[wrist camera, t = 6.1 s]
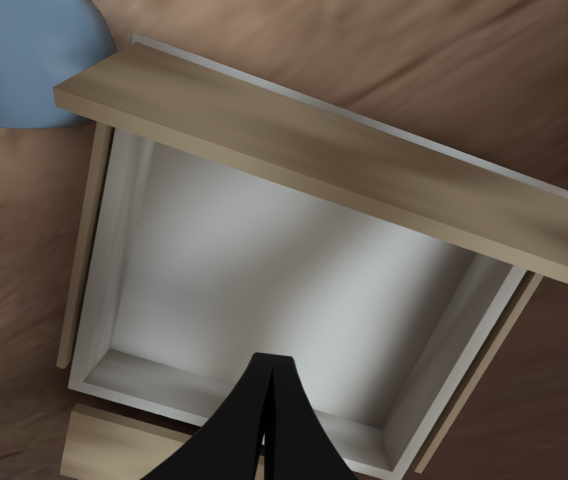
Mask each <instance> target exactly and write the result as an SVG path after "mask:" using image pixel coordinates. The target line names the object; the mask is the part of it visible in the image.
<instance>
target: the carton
mask: <svg viewBox="0 0 568 480" xmlns="http://www.w3.org/2000/svg"><path fill="white" fill-rule="evenodd" d="M135 42H138V43H141V44H144V45H146V46H149V47H152V48H155V49H157V50H160V51H163V52H166V53H168V54H171V55H174V56H177V57H179V58H182V59H185V60H188V61H190V62H193V63H196V64H199V65H201V66H204V67H207V68H210V69H212V70H215V71H218V72H221V73H223V74H226V75H229V76H232V77H234V78H237V79H240V80H243V81H245V82H248V83H251V84H254V85H256V86H259V87H262V88H265V89H267V90H270V91H273V92H276V93H278V94H281V95H284V96H287V97H289V98H292V99H295V100H298V101H300V102H303V103H306V104H309V105H311V106H314V107H317V108H320V109H322V110H325V111H328V112H331V113H333V114H336V115H339V116H342V117H344V118H347V119H350V120H352V121H355V122H358V123H361V124H363V125H366V126H369V127H372V128H374V129H377V130H380V131H383V132H385V133H388V134H391V135H394V136H396V137H399V138H402V139H405V140H407V141H410V142H413V143H416V144H418V145H421V146H424V147H427V148H429V149H432V150H435V151H438V152H440V153H443V154H446V155H449V156H451V157H454V158H457V159H460V160H462V161H465V162H468V163H471V164H473V165H476V166H479V167H482V168H484V169H487V170H490V171H493V172H495V173H498V174H501V175H504V176H506V177H509V178H512V179H515V180H517V181H520V182H523V183H526V184H528V185H531V186H534V187H537V188H539V189H542V190H545V191H548V192H550V193H553V194H556V195H559V196H561V197H564V198H567V199H568V191H567V190H564V189H562V188H559V187H556V186H553V185H551V184H548V183H545V182H542V181H540V180H537V179H534V178H532V177H529V176H526V175H523V174H521V173H518V172H515V171H512V170H510V169H507V168H504V167H501V166H499V165H496V164H493V163H491V162H488V161H485V160H482V159H480V158H477V157H474V156H471V155H469V154H466V153H463V152H460V151H458V150H455V149H452V148H450V147H447V146H444V145H441V144H439V143H436V142H433V141H430V140H428V139H425V138H422V137H419V136H417V135H414V134H411V133H409V132H406V131H403V130H400V129H398V128H395V127H392V126H389V125H387V124H384V123H381V122H378V121H376V120H373V119H370V118H368V117H365V116H362V115H359V114H357V113H354V112H351V111H348V110H346V109H343V108H340V107H337V106H335V105H332V104H329V103H327V102H324V101H321V100H318V99H316V98H313V97H310V96H307V95H305V94H302V93H299V92H296V91H294V90H291V89H288V88H286V87H283V86H280V85H277V84H275V83H272V82H269V81H266V80H264V79H261V78H258V77H255V76H253V75H250V74H247V73H245V72H242V71H239V70H236V69H234V68H231V67H228V66H225V65H223V64H220V63H217V62H214V61H212V60H209V59H206V58H204V57H201V56H198V55H195V54H193V53H190V52H187V51H184V50H182V49H179V48H176V47H173V46H171V45H168V44H165V43H163V42H160V41H157V40H154V39H152V38H149V37H146V36H143V35H141V34H138V33H135V32H133V35H132V40H131V44H133V43H135ZM543 276H544V275H541V274H538V273H535V272H533V271H530V270H527V269H524V268H521V267H518V266H515V265H512V264H509V263H506V262H504V261H501V260H498V259H495V258H492V257H489V256H486V255H483V254H480V253H477V252H475V251H472V250H469V249H466V248H463V247H460V246H457V245H454V244H451V243H448V242H446V241H443V240H440V239H437V238H434V237H431V236H428V235H425V234H422V233H420V232H417V231H414V230H411V229H408V228H405V227H402V226H399V225H396V224H393V223H391V222H388V221H385V220H382V219H379V218H376V217H373V216H370V215H367V214H364V213H362V212H359V211H356V210H353V209H350V208H347V207H344V206H341V205H338V204H335V203H333V202H330V201H327V200H324V199H321V198H318V197H315V196H312V195H309V194H306V193H304V192H301V191H298V190H295V189H292V188H289V187H286V186H283V185H280V184H277V183H275V182H272V181H269V180H266V179H263V178H260V177H257V176H254V175H251V174H248V173H246V172H243V171H240V170H237V169H234V168H231V167H228V166H225V165H222V164H219V163H217V162H214V161H211V160H208V159H205V158H202V157H199V156H196V155H193V154H190V153H188V152H185V151H182V150H179V149H176V148H173V147H170V146H167V145H164V144H161V143H159V142H156V141H153V140H150V139H147V138H144V137H141V136H138V135H135V134H132V133H130V132H127V131H124V130H121V129H118V128H115V127H112V126H109V125H106V124H103V123H101V122H98V121H97V124H96V130H95V136H94V142H93V148H92V154H91V160H90V166H89V172H88V178H87V184H86V190H85V196H84V202H83V208H82V214H81V220H80V226H79V232H78V238H77V244H76V250H75V256H74V262H73V268H72V274H71V280H70V286H69V292H68V298H67V304H66V310H65V316H64V322H63V328H62V334H61V340H60V346H59V352H58V358H57V364H56V367H59V368H62V369H64V368H65V367H66V366H67V365H68V364H69V363H70V362H71V361H72V360H73V362H72V368H71V373H70V379H69V384H68V388H69V389H72V390H76V391H79V392H83V393H86V394H90V395H93V396H97V397H100V398H103V399H107V400H110V401H114V402H117V403H121V404H124V405H128V406H131V407H135V408H138V409H142V410H145V411H148V412H152V413H155V414H159V415H162V416H166V417H169V418H173V419H176V420H180V421H183V422H187V423H190V424H193V425H197V426H200V427H202V426H203V425H204V424H205V423H206V421H207V420H208V419H209V418H210V417H211V416H212V415H213V414H214V412H215V411H216V410H217V409H218V408H219V406H220V405H221V404H222V403H223V401H224V400H225V399H226V398H227V396H228V395H229V394H230V392H231V391H232V389H233V388H234V387H235V385H236V384H237V382H238V381H239V379H240V378H241V376H242V374H243V373H244V371H245V369H246V368H247V366H248V364H249V362H250V360H251V357H252V355H253V354H254V353H255V352H260V353H268V354H276V355H285V356H292V357H293V358H294V360H295V364H296V368H297V372H298V375H299V377H300V380H301V383H302V386H303V388H304V391H305V393H306V395H307V397H308V400H309V402H310V404H311V406H312V408H313V410H314V412H315V414H316V416H317V418H318V420H319V422H320V424H321V425H322V427H323V429H324V431H325V432H326V434H327V436H328V437H329V439H330V441H331V442H332V444H333V445H334V447H335V448H336V450H337V451H338V453H339V454H340V456H341V457H342V459H343V460H344V461H345V463H346V464H347V466H348V467H349V468H350V469H351V470H353V471H356V472H360V473H363V474H367V475H370V476H373V477H377V478H380V479H384V480H401V479H402V477H403V475H404V474H405V472H406V470H407V469H408V467H409V465H410V464H411V463H412V466H413V469H414V472H418V473H422V471H423V470H424V468H425V466H426V465H427V463H428V462H429V460H430V458H431V457H432V455H433V454H434V452H435V450H436V449H437V447H438V445H439V444H440V442H441V441H442V439H443V437H444V436H445V434H446V433H447V431H448V429H449V428H450V426H451V425H452V423H453V421H454V420H455V418H456V416H457V415H458V413H459V412H460V410H461V408H462V407H463V405H464V404H465V402H466V400H467V399H468V397H469V396H470V394H471V392H472V391H473V389H474V387H475V386H476V384H477V383H478V381H479V379H480V378H481V376H482V375H483V373H484V371H485V370H486V368H487V367H488V365H489V363H490V362H491V360H492V359H493V357H494V355H495V354H496V352H497V350H498V349H499V347H500V346H501V344H502V342H503V341H504V339H505V338H506V336H507V334H508V333H509V331H510V330H511V328H512V326H513V325H514V323H515V321H516V320H517V318H518V317H519V315H520V313H521V312H522V310H523V309H524V307H525V305H526V304H527V302H528V301H529V299H530V297H531V296H532V294H533V293H534V291H535V289H536V288H537V286H538V284H539V283H540V281H541V280H542V278H543ZM262 444H263V445H264V437H263V442H262Z"/></svg>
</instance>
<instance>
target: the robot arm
mask: <svg viewBox="0 0 568 480" xmlns="http://www.w3.org/2000/svg"><path fill="white" fill-rule="evenodd" d="M263 437H264V480H359V479H358V478H357V477H356V476H355V474H354V473H353V472H352V471H351V469H350V468H349V467H348V466H347V464H346V463H345V461H344V460H343V459H342V457H341V456H340V454H339V453H338V451H337V450H336V448H335V447H334V445H333V444H332V442H331V441H330V439H329V437H328V436H327V434H326V432H325V431H324V429H323V427H322V425H321V424H320V422H319V420H318V418H317V416H316V414H315V412H314V410H313V408H312V406H311V404H310V402H309V400H308V397H307V395H306V393H305V391H304V388H303V386H302V383H301V380H300V377H299V375H298V372H297V368H296V364H295V360H294V358H293V357H292V356H285V355H276V354H268V353H260V352H255V353H254V354H253V355H252V357H251V360H250V362H249V364H248V366H247V368H246V369H245V371H244V373H243V374H242V376H241V378H240V379H239V381H238V382H237V384H236V385H235V387H234V388H233V389H232V391H231V392H230V394H229V395H228V396H227V398H226V399H225V400H224V401H223V403H222V404H221V405H220V406H219V408H218V409H217V410H216V411H215V412H214V414H213V415H212V416H211V417H210V418H209V419H208V420H207V421H206V423H205V424H204V425H203V426H202V427H201V428H200V429H199V430H198V431H197V432H196V433H195V434H194V435H193V436H192V437H191V438H190V439H188V440H187V441H186V442H185V443H184V444H183V445H182V446H181V447H180V448H179V449H178V450H176V451H175V452H174V453H173V454H172V455H171V456H169V457H168V458H167V459H166V460H164V461H163V462H162V463H160V464H159V465H158V466H157V467H155V468H154V469H153V470H152V471H150V472H149V473H148V474H146V475H145V476H144V477H142V478H141V479H140V480H255V477H256V472H257V467H258V462H259V457H260V452H261V447H262V442H263Z"/></svg>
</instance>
